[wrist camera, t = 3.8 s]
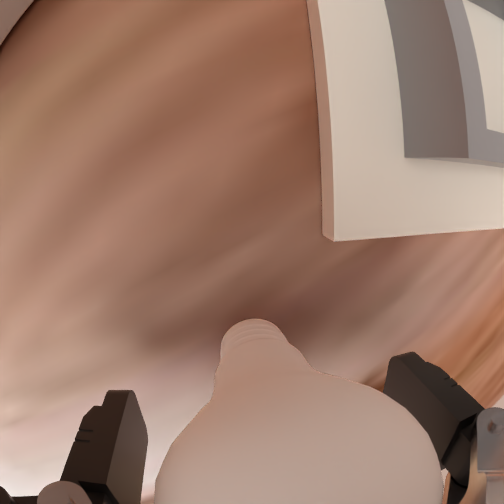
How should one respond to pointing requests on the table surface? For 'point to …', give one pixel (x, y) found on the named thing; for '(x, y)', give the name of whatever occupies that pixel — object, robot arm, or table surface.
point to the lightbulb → (295, 436)
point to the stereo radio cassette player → (11, 14)
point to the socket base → (409, 115)
